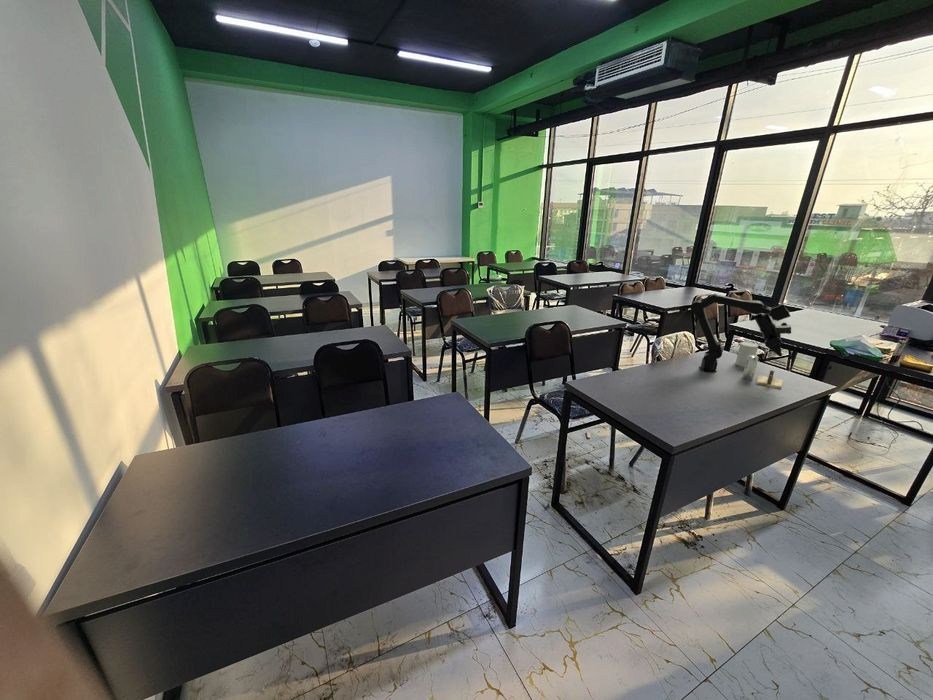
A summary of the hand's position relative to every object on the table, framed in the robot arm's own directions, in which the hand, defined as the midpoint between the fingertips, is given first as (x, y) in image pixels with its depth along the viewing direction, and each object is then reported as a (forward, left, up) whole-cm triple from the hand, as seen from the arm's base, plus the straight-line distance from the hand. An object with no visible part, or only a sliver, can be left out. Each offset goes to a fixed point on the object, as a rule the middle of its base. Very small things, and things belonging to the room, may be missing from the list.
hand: (780, 353), depth 193 cm
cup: (-1, +24, -16) cm, 28 cm away
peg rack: (-2, -1, -15) cm, 16 cm away
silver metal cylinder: (-10, +4, -15) cm, 19 cm away
